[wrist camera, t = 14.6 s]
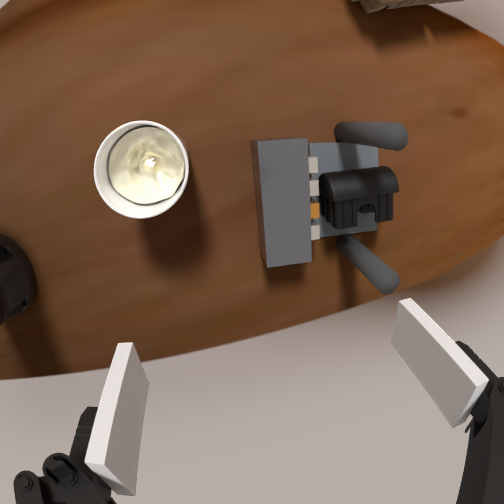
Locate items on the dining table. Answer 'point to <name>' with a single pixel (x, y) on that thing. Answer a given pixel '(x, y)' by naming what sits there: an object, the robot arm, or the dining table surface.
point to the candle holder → (141, 169)
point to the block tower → (395, 3)
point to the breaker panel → (285, 199)
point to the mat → (340, 159)
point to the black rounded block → (357, 195)
